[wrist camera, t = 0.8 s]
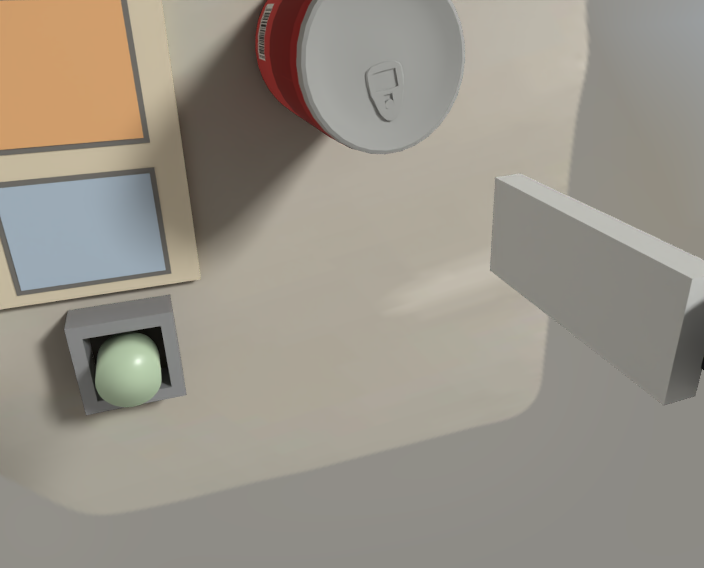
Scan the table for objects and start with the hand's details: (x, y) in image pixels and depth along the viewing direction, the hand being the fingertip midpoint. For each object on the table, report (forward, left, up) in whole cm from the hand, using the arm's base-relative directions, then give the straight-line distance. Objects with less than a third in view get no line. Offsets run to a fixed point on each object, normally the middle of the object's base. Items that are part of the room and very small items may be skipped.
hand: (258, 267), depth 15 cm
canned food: (-3, +8, -23) cm, 25 cm away
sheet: (+1, -6, -23) cm, 24 cm away
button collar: (+14, -5, -23) cm, 27 cm away
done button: (+14, -5, -21) cm, 26 cm away
